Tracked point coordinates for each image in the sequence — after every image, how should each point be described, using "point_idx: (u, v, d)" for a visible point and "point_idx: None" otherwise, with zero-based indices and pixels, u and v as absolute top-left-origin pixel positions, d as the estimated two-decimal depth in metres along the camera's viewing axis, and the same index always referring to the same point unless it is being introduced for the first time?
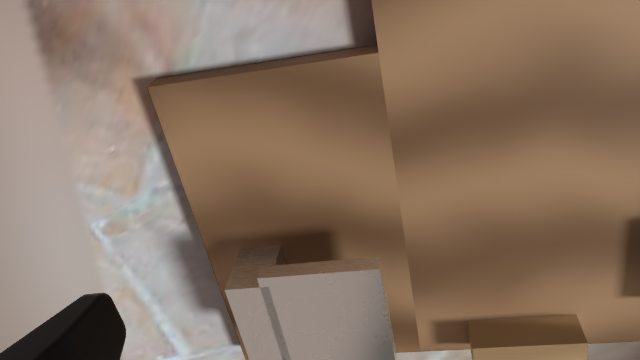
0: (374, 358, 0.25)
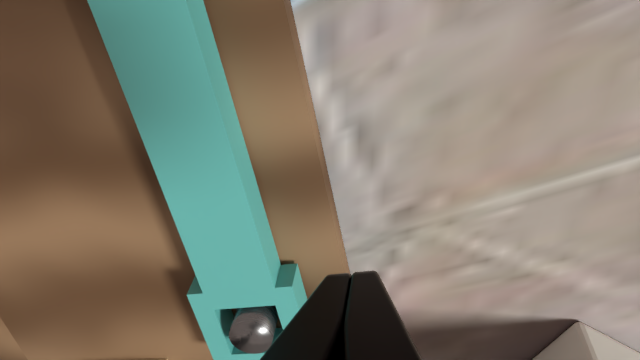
0: None
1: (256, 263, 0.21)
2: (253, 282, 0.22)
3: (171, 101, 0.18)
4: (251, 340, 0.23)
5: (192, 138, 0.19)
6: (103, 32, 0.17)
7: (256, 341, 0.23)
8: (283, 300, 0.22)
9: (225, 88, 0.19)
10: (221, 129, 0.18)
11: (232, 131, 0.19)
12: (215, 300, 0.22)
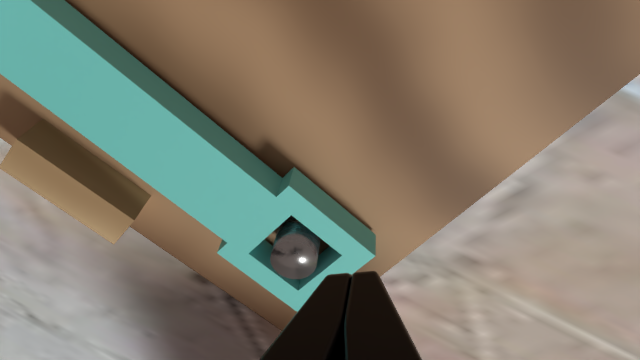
0: None
1: (242, 182, 0.20)
2: (255, 203, 0.21)
3: (65, 77, 0.19)
4: (291, 263, 0.21)
5: (104, 99, 0.19)
6: None
7: (294, 266, 0.21)
8: (293, 205, 0.20)
9: (105, 40, 0.19)
10: (116, 73, 0.18)
11: (132, 72, 0.19)
12: (242, 243, 0.22)
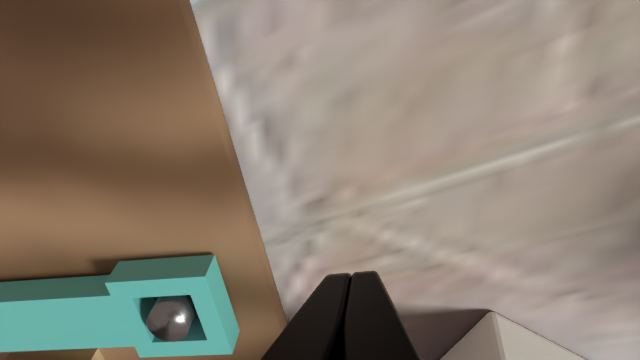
0: None
1: (87, 304, 0.24)
2: (109, 309, 0.24)
3: None
4: (168, 328, 0.23)
5: None
6: None
7: (173, 329, 0.23)
8: (123, 291, 0.23)
9: None
10: None
11: None
12: (140, 339, 0.24)
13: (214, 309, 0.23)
